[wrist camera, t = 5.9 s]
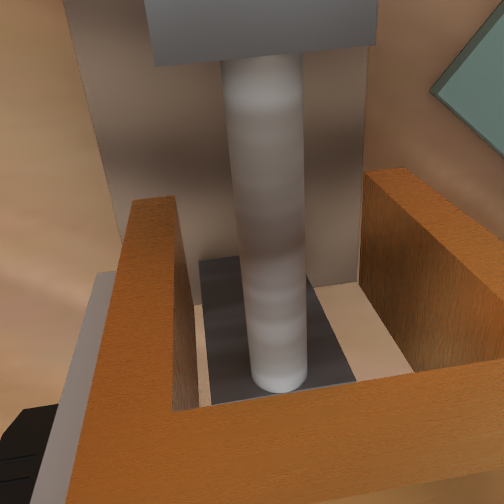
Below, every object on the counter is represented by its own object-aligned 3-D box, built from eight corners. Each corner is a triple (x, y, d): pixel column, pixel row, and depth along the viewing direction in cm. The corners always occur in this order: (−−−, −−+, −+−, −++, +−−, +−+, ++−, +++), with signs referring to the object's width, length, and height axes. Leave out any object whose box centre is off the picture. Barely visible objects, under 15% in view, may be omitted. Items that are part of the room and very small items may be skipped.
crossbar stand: (61, -39, 18) (-66, -72, 8) (360, -62, 19) (547, -114, 10) (141, 297, 26) (122, 474, 16) (347, 267, 27) (442, 417, 18)
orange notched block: (132, 200, 13) (53, 550, 5) (402, 167, 14) (746, 424, 5) (157, 313, 15) (132, 702, 7) (392, 279, 16) (634, 593, 7)
